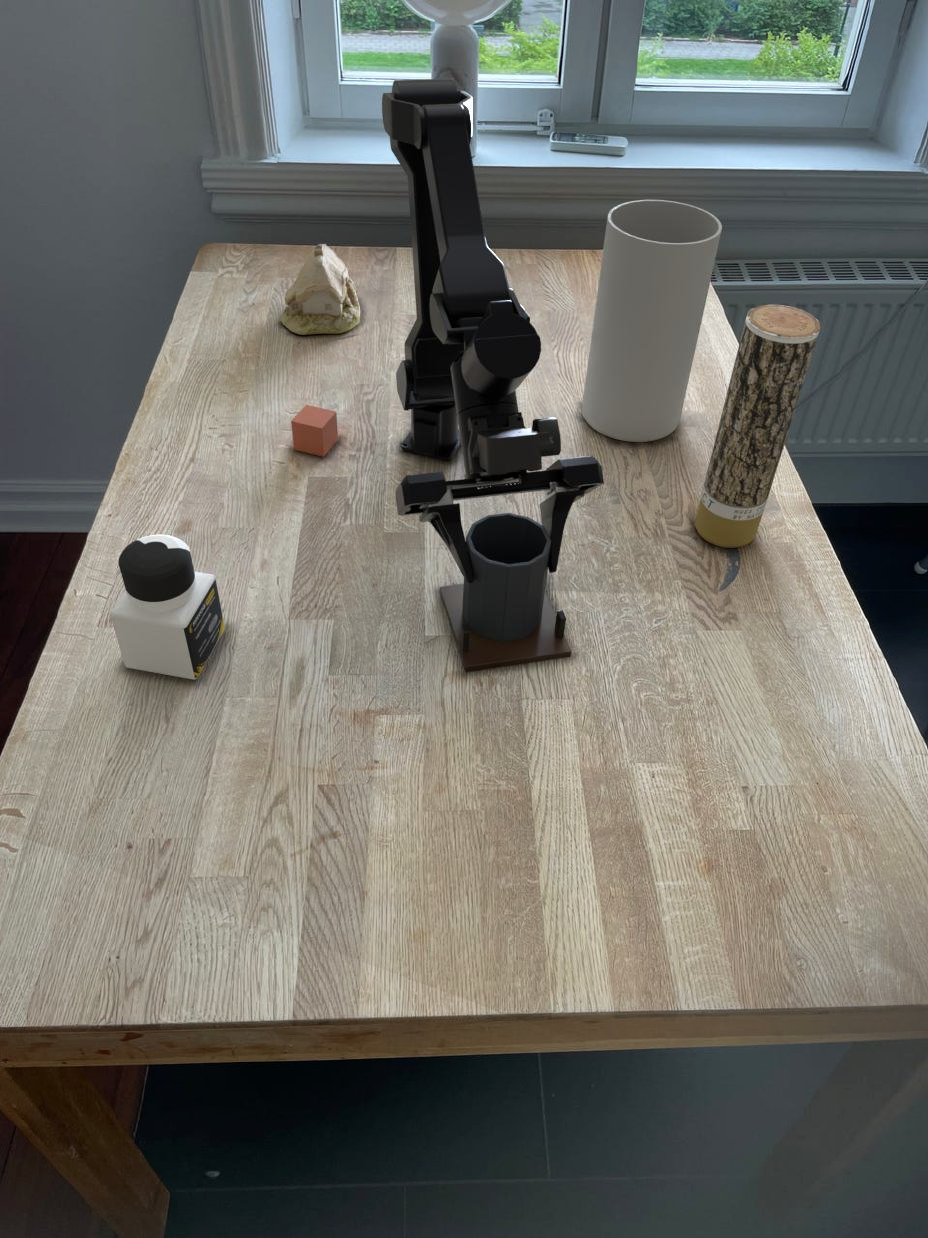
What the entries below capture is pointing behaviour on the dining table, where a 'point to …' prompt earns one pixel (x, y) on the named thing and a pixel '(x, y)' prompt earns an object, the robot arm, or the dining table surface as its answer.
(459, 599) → the brown pegged stand
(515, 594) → the bin
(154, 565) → the medicine bottle
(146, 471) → the dining table surface
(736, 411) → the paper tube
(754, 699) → the dining table surface
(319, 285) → the ceramic model
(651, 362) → the cylinder vase
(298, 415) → the block
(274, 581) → the dining table surface
